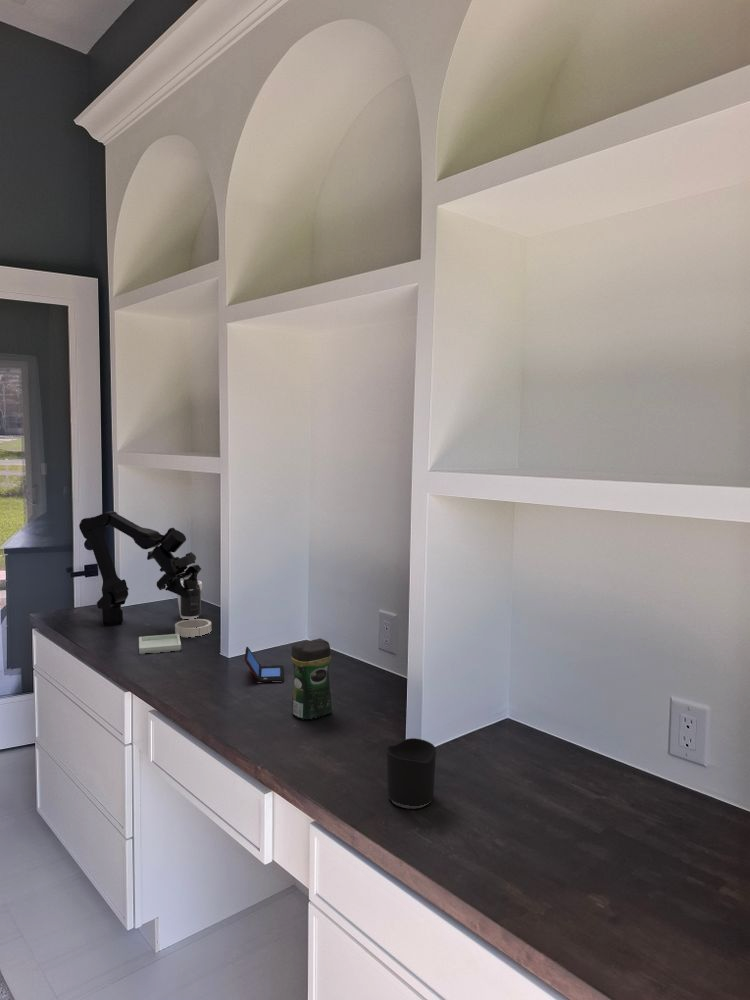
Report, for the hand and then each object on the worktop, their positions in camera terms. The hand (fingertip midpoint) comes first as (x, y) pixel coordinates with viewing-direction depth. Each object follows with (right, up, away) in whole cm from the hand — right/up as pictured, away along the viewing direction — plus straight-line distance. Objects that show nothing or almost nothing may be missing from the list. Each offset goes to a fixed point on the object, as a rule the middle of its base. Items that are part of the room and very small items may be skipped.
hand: (194, 595), depth 241 cm
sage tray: (-8, -15, -13) cm, 21 cm away
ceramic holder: (-1, -13, +3) cm, 13 cm away
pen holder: (+68, -25, -105) cm, 128 cm away
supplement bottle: (-2, -7, +1) cm, 7 cm away
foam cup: (-7, -11, +22) cm, 26 cm away
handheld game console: (+30, -18, -39) cm, 52 cm away
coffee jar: (+46, -21, -65) cm, 82 cm away
